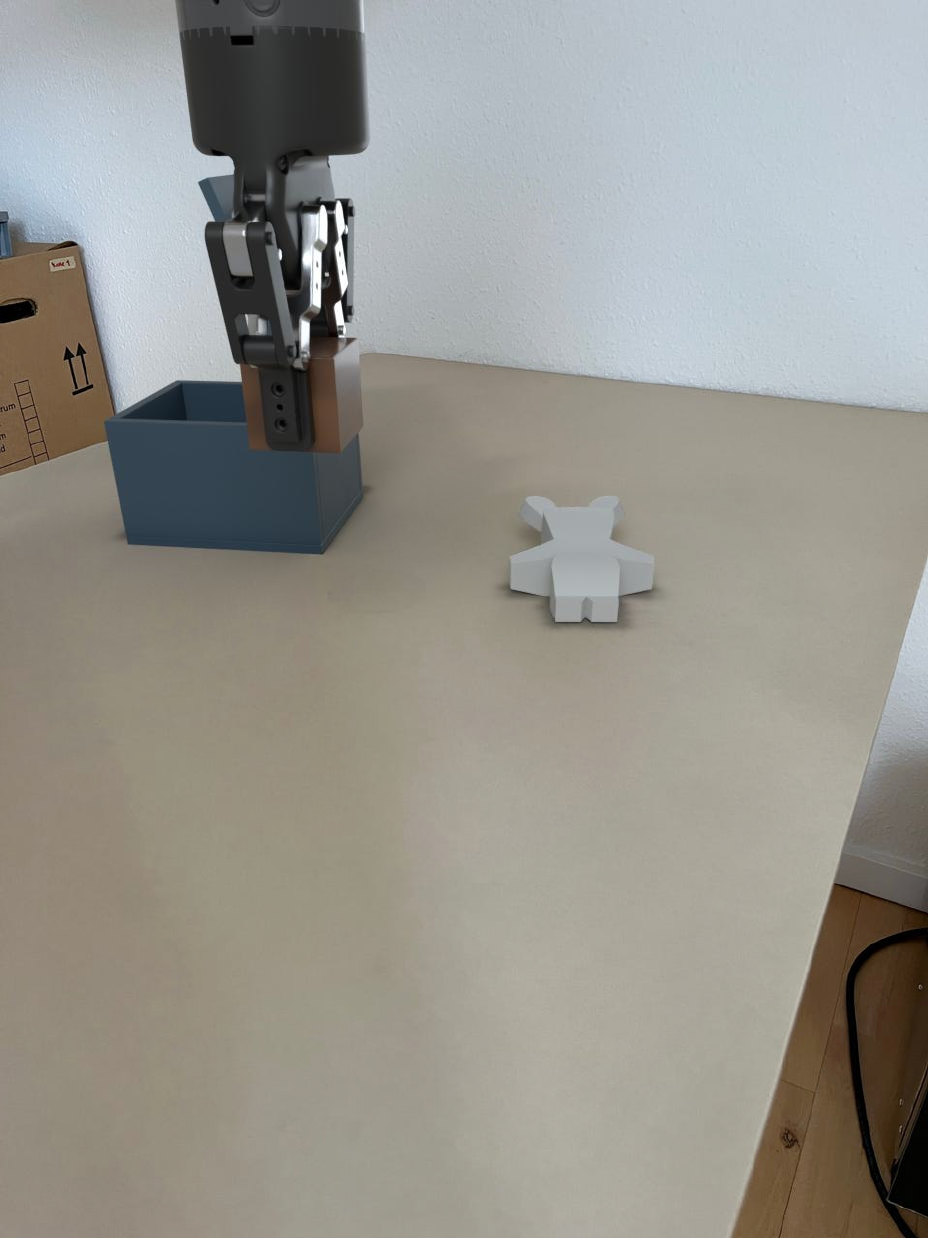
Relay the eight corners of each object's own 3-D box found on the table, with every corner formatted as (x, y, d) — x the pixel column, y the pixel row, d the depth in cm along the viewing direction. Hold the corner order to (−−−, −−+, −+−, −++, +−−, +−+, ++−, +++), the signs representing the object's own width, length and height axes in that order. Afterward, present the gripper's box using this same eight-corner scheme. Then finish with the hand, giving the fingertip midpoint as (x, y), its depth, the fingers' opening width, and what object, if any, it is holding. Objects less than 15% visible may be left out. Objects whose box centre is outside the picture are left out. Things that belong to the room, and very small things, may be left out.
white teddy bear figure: (510, 579, 57) (508, 471, 69) (509, 647, 60) (507, 532, 72) (667, 579, 57) (637, 471, 69) (659, 647, 60) (631, 532, 72)
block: (249, 450, 45) (237, 354, 43) (279, 423, 49) (270, 335, 47) (340, 454, 44) (333, 357, 42) (363, 426, 48) (358, 337, 46)
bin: (127, 545, 73) (103, 420, 68) (193, 490, 84) (176, 379, 79) (321, 555, 71) (310, 427, 66) (363, 497, 82) (355, 384, 77)
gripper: (247, 40, 45) (281, 394, 53) (101, 9, 33) (174, 477, 41) (399, 37, 44) (411, 398, 52) (309, 4, 32) (342, 486, 40)
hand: (307, 431), depth 46 cm, fingers closed on block, 4 cm apart
